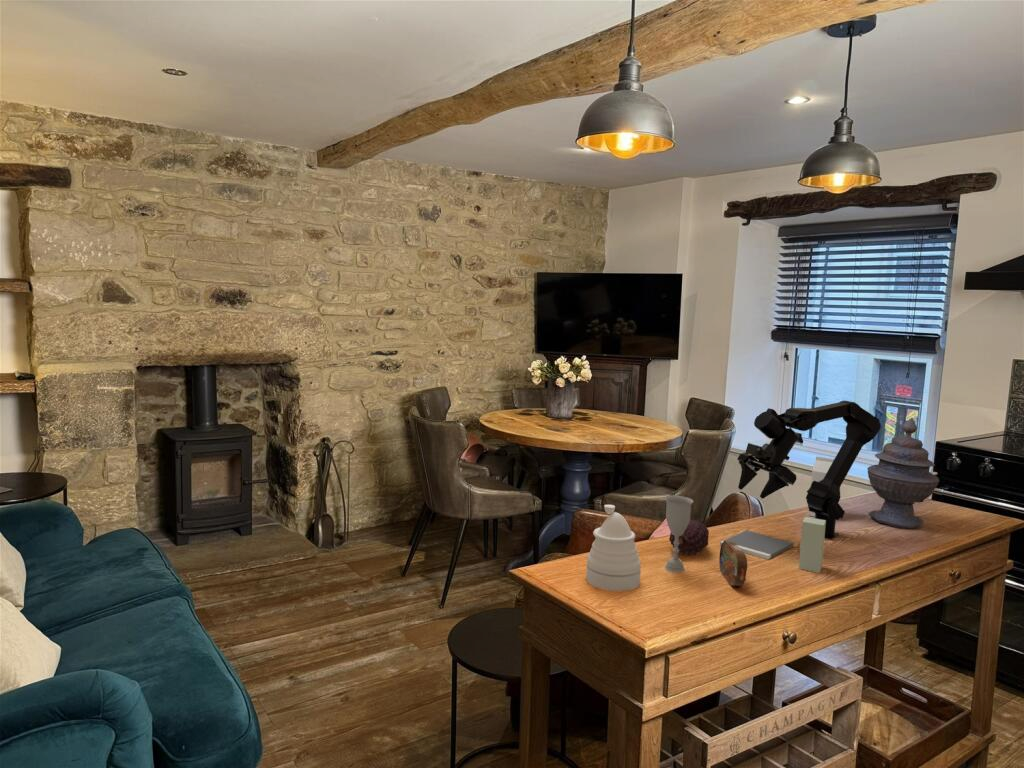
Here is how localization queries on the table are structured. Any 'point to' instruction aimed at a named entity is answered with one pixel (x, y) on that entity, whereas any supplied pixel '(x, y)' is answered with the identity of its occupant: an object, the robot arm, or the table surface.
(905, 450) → the decorative urn
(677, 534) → the chalice
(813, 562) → the sage block
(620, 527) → the honey pot
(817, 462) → the milk carton
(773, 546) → the mat
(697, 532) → the pine cone
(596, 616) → the table surface
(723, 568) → the tin
